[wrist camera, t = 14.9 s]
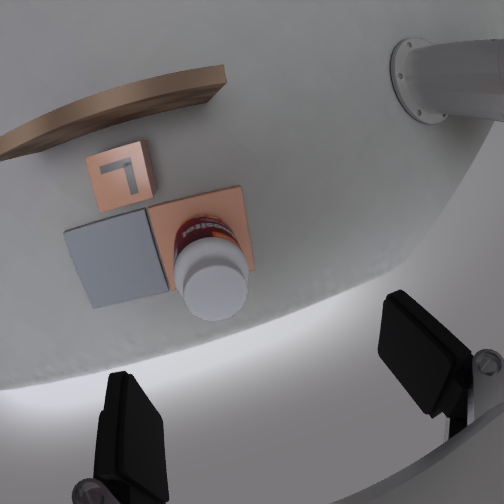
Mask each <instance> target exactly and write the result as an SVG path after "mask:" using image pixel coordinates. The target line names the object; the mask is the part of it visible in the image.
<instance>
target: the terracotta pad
mask: <svg viewBox="0 0 504 504" xmlns="http://www.w3.org/2000/svg"><path fill="white" fill-rule="evenodd" d="M148 211H149V215H150V218H151V222H152V226H153V229H154V233H155V236H156V240H157V243H158V247H159V250H160V254H161V257H162V260H163V264H164V267H165V270H166V273H167V276H168V279H169V283H170V286H171V289H172V290H176V289H177V288H176V286H175V282H174V274H173V266H174V240H175V235H176V232H177V230H178V228H179V226H180V225H181V224H182V223H183V222H184V221H185V220H186V219H188V218H189V217H191V216H194V215H196V214H201V213H209V214H214V215H217V216H219V217H221V218H222V219H223V220H225V221H226V222H227V223H228V225H229V226H230V228H231V229H232V231H233V233H234V235H235V237H236V239H237V241H238V243H239V245H240V247H241V249H242V251H243V253H244V255H245V257H246V259H247V262H248V266H249V271H252V270H255V267H254V261H253V255H252V249H251V243H250V237H249V231H248V225H247V219H246V213H245V207H244V201H243V195H242V189H241V186H240V185H239V186H234V187H229V188H225V189H220V190H215V191H211V192H206V193H202V194H198V195H193V196H189V197H185V198H181V199H177V200H173V201H168V202H164V203H161V204H157V205H153V206H149V207H148Z"/></svg>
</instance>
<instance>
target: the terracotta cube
mask: <svg viewBox="0 0 504 504" xmlns="http://www.w3.org/2000/svg"><path fill="white" fill-rule="evenodd" d="M86 163H87V167H88V171H89V175H90V179H91V183H92V187H93V190H94V194H95V197H96V201H97V205H98V208H99V211H100V213H101V212H105V211H108V210H111V209H115V208H118V207H122V206H125V205H129V204H132V203H136V202H139V201H143V200H147V199H150V198H153V197H154V194H155V191H156V189H157V185H156V181H155V177H154V172H153V168H152V164H151V159H150V154H149V150H148V145H147V140H142V141H138V142H135V143H131V144H128V145H124V146H121V147H118V148H114V149H111V150H108V151H105V152H102V153H99V154H96V155H93V156H90V157H87V158H86Z"/></svg>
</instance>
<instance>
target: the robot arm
mask: <svg viewBox="0 0 504 504" xmlns="http://www.w3.org/2000/svg"><path fill="white" fill-rule="evenodd" d="M391 76H392V81H393V85H394V89H395V91H396V94H397V96H398V98H399V100H400V102H401V104H402V105H403V107H404V108H405V110H406V111H407V112H408V113H409V114H410V115H411V116H412V117H413V118H415V119H416V120H417V121H420V122H422V123H426V124H438V123H441V122H442V121H444V120H445V119H446V118H447V117H448V115H456V116H466V117H474V118H481V119H488V120H494V121H500V122H504V39H492V40H475V41H464V42H454V43H446V44H439V45H432V44H431V43H429V42H428V41H426V40H424V39H421V38H409V39H405V40H403V41H401V42H400V43H399V44H398V45H397V46H396V47H395V49H394V52H393V54H392V59H391ZM378 354H379V356H380V358H381V359H382V360H383V362H384V363H385V364H386V365H387V367H388V368H389V369H390V370H391V371H392V373H393V374H394V375H395V377H396V378H397V379H398V380H399V382H400V383H401V384H402V386H403V387H404V388H405V389H406V390H407V392H408V393H409V395H410V396H411V397H412V398H413V400H414V401H415V402H416V404H417V405H418V406H419V407H420V409H421V410H422V411H423V413H425V414H429V415H430V417H431V418H432V419H433V418H434V417H436V416H437V415H438V414H440V413H442V412H443V413H444V414H445V415H446V424H445V435H444V442H443V444H442V445H440V446H439V447H438V448H436V449H435V450H433V451H432V452H430V453H429V454H427V455H426V456H424V457H422V458H421V459H419V460H418V461H416V462H414V463H413V464H411V465H409V466H407V467H406V468H404V469H402V470H400V471H399V472H397V473H395V474H393V475H391V476H389V477H388V478H386V479H384V480H382V481H380V482H378V483H376V484H374V485H372V486H370V487H368V488H366V489H363V490H361V491H359V492H357V493H355V494H352V495H350V496H348V497H345V498H343V499H340V500H338V501H335V502H333V503H330V504H504V359H503V357H502V356H501V355H500V354H499V353H498V352H496V351H494V350H491V349H482V350H480V351H478V352H477V353H476V354H475V355H474V356H473V355H472V354H471V351H470V350H469V349H468V348H467V347H466V346H465V345H464V344H463V343H462V342H461V341H459V340H458V338H456V337H455V336H454V335H453V334H452V333H451V332H450V331H449V330H448V329H447V328H446V327H444V326H443V325H442V324H441V323H440V322H439V321H438V320H437V319H435V318H434V317H433V316H432V315H431V314H430V313H429V312H428V311H426V310H425V309H424V308H423V307H422V306H421V305H420V304H418V303H417V302H416V301H415V300H414V299H413V298H411V297H410V296H409V295H408V294H407V293H405V292H404V291H402V290H398V291H395V292H393V293H390V294H388V295H387V297H386V300H384V302H383V311H382V320H381V329H380V337H379V344H378ZM168 501H169V491H168V482H167V472H166V460H165V447H164V429H163V420H162V418H161V415H160V414H159V413H158V411H157V410H156V409H155V407H154V406H153V404H152V403H151V401H150V400H149V399H148V397H147V396H146V394H145V393H144V391H143V390H142V388H141V387H140V385H139V384H138V382H137V381H136V379H135V378H134V376H133V375H132V374H128V373H127V372H126V371H121V372H115V373H110V375H109V378H108V384H107V390H106V396H105V404H104V410H103V411H101V413H100V416H99V422H98V430H97V440H96V450H95V460H94V475H93V478H87V479H83V480H82V481H79V482H78V483H77V484H76V485H75V487H74V489H73V491H72V502H73V504H166V502H168Z"/></svg>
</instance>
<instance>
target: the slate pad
mask: <svg viewBox="0 0 504 504" xmlns="http://www.w3.org/2000/svg"><path fill="white" fill-rule="evenodd" d="M63 236H64V239H65V241H66V244H67V247H68V250H69V252H70V255H71V258H72V260H73V263H74V265H75V268H76V270H77V273H78V275H79V278H80V280H81V282H82V285H83V287H84V289H85V291H86V294H87V296H88V298H89V300H90V302H91V305H92V307H93V309H95V308H99V307H104V306H108V305H112V304H117V303H121V302H125V301H130V300H134V299H138V298H142V297H147V296H151V295H155V294H159V293H163V292H168V291H169V287H168V284H167V281H166V278H165V275H164V272H163V269H162V265H161V262H160V259H159V256H158V252H157V249H156V246H155V242H154V239H153V235H152V232H151V228H150V224H149V221H148V217H147V213H146V210H145V208H141V209H138V210H134V211H130V212H127V213H123V214H120V215H116V216H113V217H109V218H106V219H102V220H99V221H95V222H92V223H89V224H86V225H82V226H79V227H76V228H73V229H70V230H67V231H65V232H64V233H63Z"/></svg>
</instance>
